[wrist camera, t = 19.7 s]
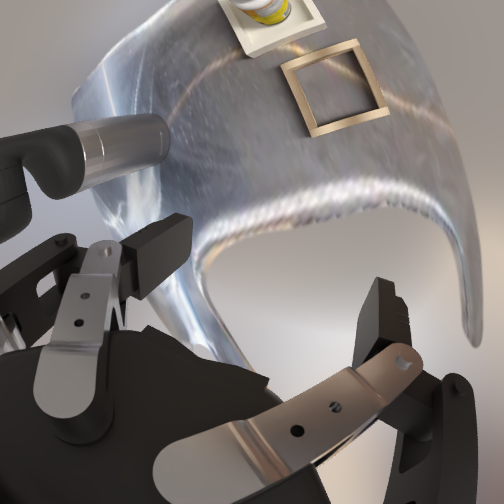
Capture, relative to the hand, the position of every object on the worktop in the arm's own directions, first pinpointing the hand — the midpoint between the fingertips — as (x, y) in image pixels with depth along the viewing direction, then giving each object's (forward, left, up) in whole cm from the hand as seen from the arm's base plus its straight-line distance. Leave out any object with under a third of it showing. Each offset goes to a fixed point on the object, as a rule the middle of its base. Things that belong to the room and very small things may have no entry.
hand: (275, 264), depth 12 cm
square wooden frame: (-2, +10, -28) cm, 30 cm away
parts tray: (-12, +20, -28) cm, 37 cm away
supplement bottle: (-12, +20, -28) cm, 36 cm away
